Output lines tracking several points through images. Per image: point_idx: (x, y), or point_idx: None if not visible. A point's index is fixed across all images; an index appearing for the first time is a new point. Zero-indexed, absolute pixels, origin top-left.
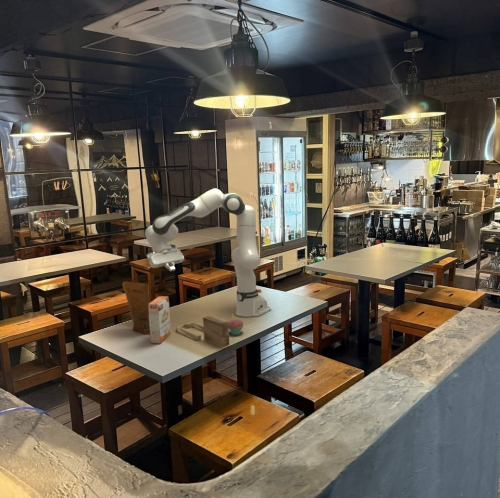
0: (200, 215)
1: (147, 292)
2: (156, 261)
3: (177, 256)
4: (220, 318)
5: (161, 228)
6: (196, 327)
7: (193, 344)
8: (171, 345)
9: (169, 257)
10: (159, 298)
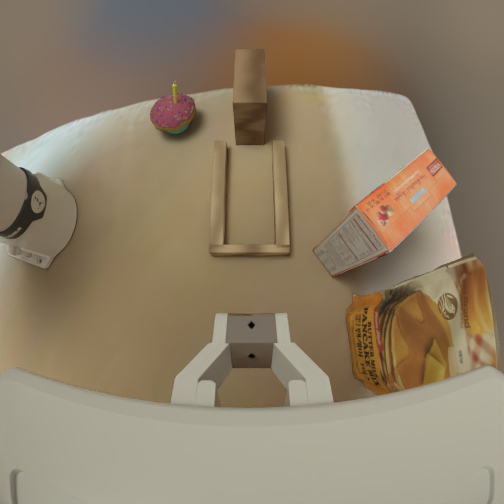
0: None
1: (452, 267)
2: (486, 405)
3: (46, 438)
4: (235, 68)
5: None
6: (224, 224)
7: (304, 141)
8: (351, 177)
9: (211, 492)
10: (405, 208)
